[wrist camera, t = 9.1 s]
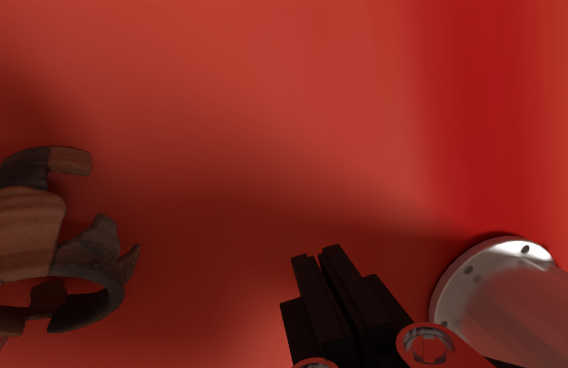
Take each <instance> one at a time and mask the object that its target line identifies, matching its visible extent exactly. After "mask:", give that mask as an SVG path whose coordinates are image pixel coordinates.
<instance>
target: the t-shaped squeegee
mask: <svg viewBox="0 0 568 368" xmlns="http://www.w3.org/2000/svg"><path fill="white" fill-rule="evenodd" d="M7 342H8V338H7V337H6V336H0V351H1V349H2V348H3V347H4V346H5V344H6V343H7Z"/></svg>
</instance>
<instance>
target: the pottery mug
mask: <svg viewBox="0 0 568 368" xmlns="http://www.w3.org/2000/svg"><path fill="white" fill-rule="evenodd" d="M90 163H91V154H89V153H88V152H85V151H81V150H78V149H73V148H67V147H37V148H31V149H26V150H23V151H20V152H18V153H15V154H13V155H11V156H9V157H8V158H6V159H5V160H4V161H3V162H1V164H0V285H2V284H4V283H6V282H7V283H10V282H14V281H18V280H23V279H29V278H36V277H45V276H49V275H52V276H62V277H76V278H82V279H86V280H90V281H92V282H96V283H98V284H100V285H102V286H104V287H105V289H102V290H100V291H98V292H95V293H89V294H71V295H68V294H67V290H66V288H65V287H64V285H63V283H62V282H61V281H60V280H56V281H51V282H45V283H41V284H38V285H35V286H34V287H33V288H32V289H31V292H30V297H31V303H30V306H29V308H28V307H11V306H1V305H0V336H21V335H22V333H23V331H24V328H25V323H26V321H27V320H38V319H45V318H51V321H50V323H49V325H48V328H47V332H48V333H63V332H66V331H71V330H75V329H78V328H81V327H85V326H88V325H90V324H92V323H95V322H97V321H99V320H101V319H103V318H104V317H106V316H108V315H109V313H111V312H113V311H114V310H115V309H117V308H118V307H119V305H120V304H121V303H122V301H123V300H124V297H125V291H124V288H123V286H124V285H125V284H126V283H127V281H128V280H129V279H130V278H131V277H132V274H133V271H134V269H135V266H136V263H137V260H138V257H139V252H140V244H135V245H134V246H133V248H132V249H131V250H130V251H129V252H128V253H126V254H125V255H123V256H121V257H120V258H118V257H119V254H120V241H119V239H118V236H117V225H116V223H115V222H114V221H113V220H112V219H110V218H109V217H108V216H107V215H105V214H102V213H99V214H97V215H96V217H95V218H94V220H93V222H92V225H91V227H89V228H87V229H85V230H84V231H82V232H81V233H80V234H78V235H77V236H75V237H74V238H72V239H70V240H67V241H65V242H63V243H61V244H57V241H58V237H59V231H60V228H61V224H62V221H63V218H64V216H65V214H66V211H67V207H66V206H65V203H64V200H63V199H62V198H61V197H60V196H59V195H57V194H54V193H52V192H47V188H48V184H47V175H48V173H49V172H56V173H69V174H75V175H80V176H88V175H90V173H91V169H92V166H91V164H90Z"/></svg>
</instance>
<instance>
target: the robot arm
mask: <svg viewBox="0 0 568 368" xmlns="http://www.w3.org/2000/svg"><path fill="white" fill-rule="evenodd" d="M322 250H323V253H320V254H318V259H319V263H320V267H321V270H320V268H319V266H318V264H317V262H316V260H315V258H314V256H310V257H307V255H306V253H305V254H302V255H299V256H296V257H292V258H291V263H292V266H293V270H294V273H295V277H296V281H297V284H298V288H299V292H300V295H301V297H299V298H296V299H292V300H289V301H286V302H283V303H280V309H281V313H282V317H283V322H284V326H285V331H286V335H287V339H288V344H289V348H290V353H291V357H292V361H293V367H292V368H568V272H566V271H564V270H562V269H560V268H558V267H557V266H556V265H555V262H554V260H553V258H552V257H551V255H550V254H549V252H548V251H547V250H546V249H544V248H543V247H542V246H541V245H539V244H537V243H535V242H533V241H531V240H529V239H526V238H523V237H519V236H501V237H495V238H492V239H489V240H486V241H483V242H481V243H479V244H477V245H475V246H474V247H472V248H470V249H469V250H467V251H466V252H465V253H463V254H462V255H461V256H459V257H458V258H457V259H456V260H455V261H454V262H453V263H452V264H451V265H450V266H449V267H448V269H447V270H446V271H445V273H444V274H443V275H442V277H441V278H440V280H439V282H438V284H437V286H436V287H435V289H434V292H433V295H432V298H431V301H430V306H429V322H419V323H414V322H413V320H412V319H411V318H410V317H409V315H408V314H407V313H406V312H405V310H404V309H403V308H402V306H401V305H400V304H399V303H398V301H397V300H396V299H395V298H394V296H393V295H392V294H391V293H390V291H389V290H388V289H387V288H386V286H385V285H384V284H383V283H382V281H381V280H380V279H379V278H378V276H377V275H376V274H372V275H368V276H365V277H362V276H361V275H360V273H359V272H358V271H357V269H356V268H355V266H354V265H353V264H352V262H351V261H350V259H349V258H348V256H347V255H346V254H345V252H344V251H343V249H342V248H341V247H340V245H339V244H335V245H332V246H328V247H325V248H323V249H322ZM321 271H322V272H321Z"/></svg>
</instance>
